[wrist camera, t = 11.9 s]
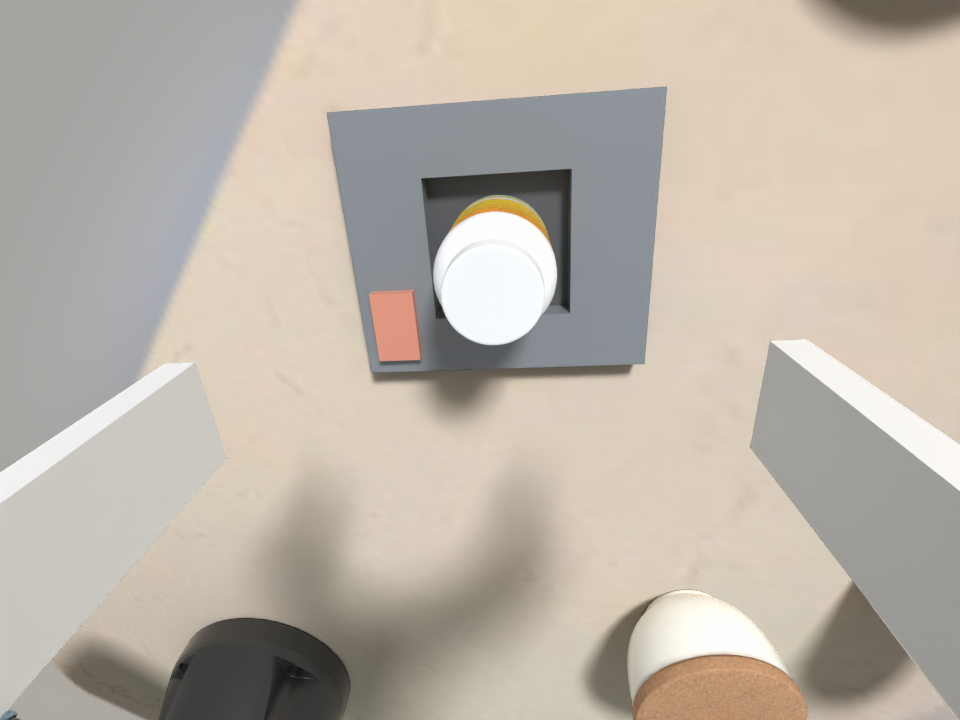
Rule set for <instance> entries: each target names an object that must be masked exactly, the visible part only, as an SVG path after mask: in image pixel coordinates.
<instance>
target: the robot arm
mask: <svg viewBox="0 0 960 720" xmlns="http://www.w3.org/2000/svg"><path fill="white" fill-rule="evenodd" d="M750 448H751V449H752V451H753V452H754V453H755V454H756V456H757V457H758V458H759V460H760V461H761V462H762V464H763V465H764V466H765V467H766V469H767V470H768V471H769V473H770V474H771V475H772V477H773V478H774V479H775V480H776V482H777V483H778V484H779V486H780V487H781V488H782V490H783V491H784V492H785V493H786V495H787V496H788V497H789V499H790V500H791V501H792V503H793V504H794V505H795V506H796V508H797V509H798V510H799V512H800V513H801V514H802V516H803V517H804V518H805V519H806V521H807V522H808V523H809V525H810V526H811V527H812V529H813V530H814V531H815V532H816V534H817V535H818V536H819V538H820V539H821V540H822V542H823V543H824V544H825V545H826V547H827V548H828V549H829V551H830V552H831V553H832V555H833V556H834V557H835V558H836V560H837V561H838V562H839V564H840V565H841V566H842V568H843V569H844V570H845V571H846V573H847V574H848V575H849V577H850V578H851V579H852V581H853V582H854V583H855V584H856V586H857V587H858V588H859V590H860V591H861V592H862V594H863V595H864V596H865V597H866V599H867V600H868V601H869V603H870V604H871V605H872V607H873V608H874V609H875V610H876V612H877V613H878V614H879V616H880V617H881V618H882V620H883V621H884V622H885V623H886V625H887V626H888V627H889V629H890V630H891V631H892V633H893V634H894V635H895V636H896V638H897V639H898V640H899V642H900V643H901V644H902V646H903V647H904V648H905V649H906V651H907V652H908V653H909V655H910V656H911V657H912V659H913V660H914V661H915V662H916V664H917V665H918V666H919V668H920V669H921V670H922V672H923V673H924V674H925V675H926V677H927V678H928V679H929V681H930V682H931V683H932V685H933V686H934V687H935V688H936V690H937V691H938V692H939V694H940V695H941V696H942V698H943V699H944V700H945V701H946V703H947V704H948V705H949V707H950V708H951V709H952V711H953V712H954V713H955V714H956V716H957V717H958V718H959V720H960V445H959V444H958V443H956V442H955V441H953V440H952V439H951V438H949V437H948V436H946V435H945V434H943V433H942V432H940V431H939V430H938V429H936V428H935V427H933V426H932V425H930V424H929V423H927V422H926V421H924V420H923V419H922V418H920V417H919V416H917V415H916V414H914V413H913V412H911V411H910V410H908V409H907V408H906V407H904V406H903V405H901V404H900V403H898V402H897V401H895V400H894V399H892V398H891V397H890V396H888V395H887V394H885V393H884V392H882V391H881V390H879V389H878V388H877V387H875V386H874V385H872V384H871V383H869V382H868V381H866V380H865V379H863V378H862V377H861V376H859V375H858V374H856V373H855V372H853V371H852V370H850V369H849V368H847V367H846V366H845V365H843V364H842V363H840V362H839V361H837V360H836V359H834V358H833V357H832V356H830V355H829V354H827V353H826V352H824V351H823V350H821V349H820V348H818V347H817V346H816V345H814V344H813V343H811V342H810V341H808V340H782V341H770V344H769V349H768V355H767V360H766V365H765V370H764V376H763V381H762V386H761V391H760V397H759V402H758V407H757V413H756V418H755V423H754V428H753V434H752V439H751V444H750ZM226 459H227V458H226V454H225V451H224V448H223V445H222V442H221V439H220V436H219V433H218V430H217V427H216V424H215V421H214V418H213V415H212V412H211V409H210V406H209V403H208V400H207V397H206V394H205V391H204V388H203V385H202V382H201V379H200V376H199V373H198V370H197V367H196V364H195V363H169V364H163V365H162V366H160V367H159V368H157V369H156V370H154V371H153V372H151V373H150V374H148V375H147V376H145V377H144V378H142V379H141V380H139V381H138V382H136V383H135V384H133V385H132V386H130V387H129V388H127V389H126V390H124V391H123V392H121V393H120V394H118V395H117V396H115V397H114V398H112V399H111V400H109V401H107V402H106V403H104V404H103V405H101V406H100V407H98V408H97V409H95V410H94V411H92V412H91V413H89V414H88V415H86V416H85V417H84V418H82V419H80V420H79V421H77V422H76V423H74V424H73V425H71V426H70V427H68V428H67V429H65V430H64V431H62V432H61V433H59V434H58V435H56V436H55V437H53V438H52V439H50V440H49V441H47V442H46V443H44V444H43V445H41V446H40V447H38V448H37V449H35V450H34V451H32V452H31V453H29V454H28V455H26V456H24V457H23V458H21V459H20V460H18V461H17V462H15V463H14V464H12V465H11V466H10V467H8V468H7V469H5V470H4V471H2V472H0V720H20V719H18V718H16V716H17V715H18V713H16V712H15V711H12V710H9V711H7V710H8V708H9V707H10V706H11V705H12V704H13V703H14V702H15V701H16V699H17V698H18V697H19V696H20V695H21V694H22V693H23V691H24V690H25V689H26V688H27V687H28V686H29V684H30V683H31V682H32V681H33V680H34V679H35V678H36V676H37V675H38V674H39V673H40V672H41V671H42V670H43V668H44V667H45V666H46V665H47V664H48V663H49V662H50V660H51V659H52V658H53V657H54V656H55V655H56V654H57V652H58V651H59V650H60V649H61V648H62V647H63V646H64V644H65V643H66V642H67V641H68V640H69V639H70V638H71V636H72V635H73V634H74V633H75V632H76V631H77V630H78V628H79V627H80V626H81V625H82V624H83V623H84V622H85V620H86V619H87V618H88V617H89V616H90V615H91V614H92V612H93V611H94V610H95V609H96V608H97V607H98V606H99V604H100V603H101V602H102V601H103V600H104V599H105V598H106V596H107V595H108V594H109V593H110V592H111V591H112V590H113V588H114V587H115V586H116V585H117V584H118V583H119V581H120V580H121V579H122V578H123V577H124V576H125V575H126V573H127V572H128V571H129V570H130V569H131V568H132V567H133V565H134V564H135V563H136V562H137V561H138V560H139V559H140V557H141V556H142V555H143V554H144V553H145V552H146V551H147V549H148V548H149V547H150V546H151V545H152V544H153V543H154V541H155V540H156V539H157V538H158V537H159V536H160V535H161V533H162V532H163V531H164V530H165V529H166V528H167V527H168V525H169V524H170V523H171V522H172V521H173V520H174V519H175V517H176V516H177V515H178V514H179V513H180V512H181V511H182V509H183V508H184V507H185V506H186V505H187V504H188V503H189V501H190V500H191V499H192V498H193V497H194V496H195V495H196V493H197V492H198V491H199V490H200V489H201V488H202V487H203V485H204V484H205V483H206V482H207V481H208V480H209V478H210V477H211V476H212V475H213V474H214V473H215V472H216V470H217V469H218V468H219V467H220V466H221V465H222V464H223V462H224V461H225V460H226ZM349 689H350V684H349V678H348V675H347V672H346V670H345V668H344V666H343V665H342V663H341V662H340V660H339V659H338V658H337V657H336V655H335V654H334V653H333V652H332V651H331V650H330V649H328V648H327V647H326V646H325V645H324V644H322V643H321V642H319V641H318V640H316V639H315V638H313V637H311V636H310V635H308V634H306V633H304V632H302V631H300V630H297V629H295V628H292V627H290V626H287V625H284V624H280V623H276V622H272V621H267V620H260V619H247V618H245V619H230V620H224V621H220V622H216V623H214V624H211V625H209V626H207V627H205V628H203V629H201V630H200V631H199V632H197V633H196V634H195V635H194V636H193V637H192V639H191V640H190V642H189V643H188V645H187V646H186V648H185V649H184V651H183V653H182V654H181V656H180V657H179V659H178V661H177V662H176V664H175V666H174V669H173V671H172V674H171V678H170V681H169V685H168V688H167V692H166V695H165V699H164V702H163V706H162V709H161V712H160V716H159V719H158V720H341V718H342V715H343V712H344V708H345V705H346V702H347V698H348V695H349Z"/></svg>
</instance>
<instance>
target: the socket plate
mask: <svg viewBox="0 0 960 720" xmlns="http://www.w3.org/2000/svg"><path fill="white" fill-rule="evenodd" d="M666 93H667V87H654V88H641V89H628V90H615V91H602V92H589V93H576V94H563V95H550V96H537V97H524V98H510V99H497V100H484V101H471V102H458V103H445V104H432V105H419V106H406V107H393V108H380V109H367V110H354V111H341V112H328V113H327V119H328V125H329V130H330V136H331V142H332V148H333V153H334V159H335V165H336V171H337V176H338V182H339V188H340V194H341V199H342V205H343V211H344V217H345V222H346V228H347V234H348V240H349V245H350V251H351V257H352V263H353V268H354V274H355V280H356V286H357V291H358V297H359V303H360V309H361V314H362V320H363V326H364V332H365V338H366V343H367V349H368V355H369V361H370V366H371V372H372V373H375V372H407V371H439V370H471V369H503V368H535V367H567V366H599V365H631V364H644V363H645V351H646V339H647V327H648V314H649V302H650V290H651V277H652V265H653V253H654V241H655V228H656V216H657V204H658V191H659V179H660V167H661V155H662V142H663V130H664V118H665V105H666ZM492 195H506V196H511V197H515V198H518V199H520V200H522V201H524V202H525V203H527V204H528V205H530V206H531V207H532V208H533V209H534V210H535V211H536V212H537V214H538V215H539V216H540V218H541V219H542V221H543V223H544V225H545V227H546V230H547V233H548V236H549V240H550V243H551V246H552V249H553V252H554V255H555V260H556V266H557V283H556V288H555V292H554V296H553V298H552V300H551V302H550V304H549V306H548V308H547V309H546V311H545V312H544V313H543V314H542V315H541V317H540V318H539V319H538V321H537V323H536V324H535V325H534V327H533V328H532V329H531V330H530V331H529V332H528V333H527V334H525V335H524V336H522V337H521V338H519V339H517V340H515V341H513V342H510V343H507V344H502V345H484V344H479V343H476V342H473V341H471V340H469V339H467V338H465V337H464V336H462V335H461V334H460V333H458V332H457V331H456V330H455V329H454V328H453V327H452V325H451V324H450V323H449V321H448V320H447V318H446V316H445V314H444V311H443V308H442V306H441V304H440V302H439V300H438V298H437V295H436V292H435V288H434V282H433V268H434V262H435V258H436V255H437V252H438V250H439V248H440V245H441V244H442V242H443V240H444V238H445V237H446V235H447V234H448V232H449V231H450V229H451V227H452V226H453V224H454V222H455V221H456V220H457V218H458V216H459V215H460V214H461V213H462V212H463V211H464V210H465V209H466V208H467V207H468V206H469V205H470V204H472V203H473V202H475V201H477V200H479V199H481V198H484V197H487V196H492Z"/></svg>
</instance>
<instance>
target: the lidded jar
mask: <svg viewBox="0 0 960 720" xmlns="http://www.w3.org/2000/svg"><path fill="white" fill-rule="evenodd" d="M627 668H628V683H629V689H630V695H631V700H632V709H633V719H634V720H806V719H807V707H806V704H805V701H804V698H803V696H802V694H801V692H800V690H799V689H798V687H797V686H796V684H795V683H794V681H793V680H792V678H791V677H790V675H789V673H788V671H787V669H786V667H785V666H784V664H783V662H782V660H781V658H780V657H779V655H778V654H777V652H776V651H775V649H774V648H773V646H772V645H771V643H770V642H769V640H768V639H767V637H766V636H765V635H764V634H763V632H762V631H761V630H760V629H759V627H758V626H757V625H756V624H755V623H754V622H753V621H751V620H750V619H749V618H748V617H747V616H746V615H745V614H744V613H742V612H741V611H739V610H738V609H736V608H735V607H733V606H732V605H730V604H728V603H726V602H724V601H721V600H719V599H716V598H714V597H713V596H711V595H709V594H707V593H705V592H701V591H697V590H677V591H672V592H668V593H666V594H663V595H661V596H659V597H658V598H656V599H655V600H653V601H652V602H651V603H650V604H649V605H648V607H647V608H646V610H645V612H644V614H643V615H642V617H641V618H640V619H639V621H638V622H637V623H636V626H635V628H634V630H633V632H632V635H631V638H630V643H629V647H628V659H627Z"/></svg>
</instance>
